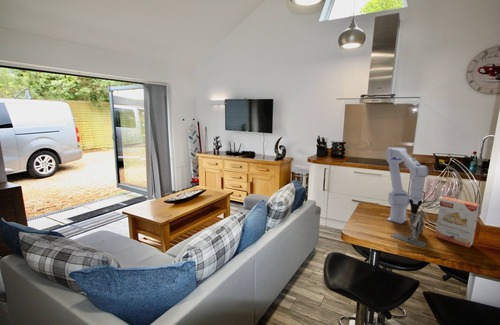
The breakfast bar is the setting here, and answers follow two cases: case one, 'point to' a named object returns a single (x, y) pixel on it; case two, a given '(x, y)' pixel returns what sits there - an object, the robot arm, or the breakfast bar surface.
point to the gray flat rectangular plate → (409, 241)
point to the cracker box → (457, 221)
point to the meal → (416, 225)
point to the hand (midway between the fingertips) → (413, 213)
